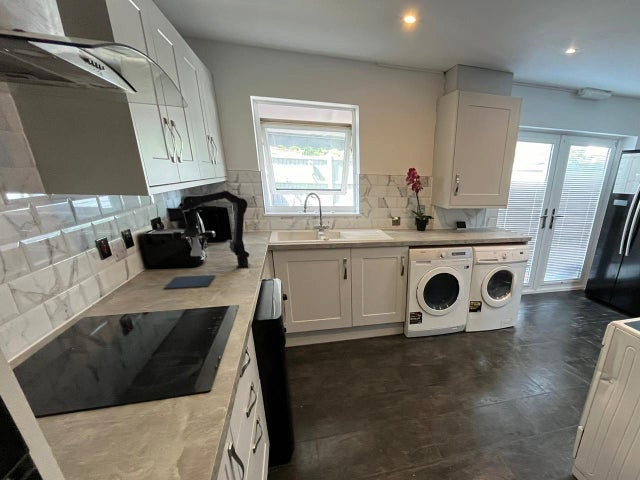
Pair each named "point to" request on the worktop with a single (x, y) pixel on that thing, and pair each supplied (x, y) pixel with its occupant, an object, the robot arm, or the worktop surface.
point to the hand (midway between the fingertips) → (197, 250)
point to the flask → (196, 248)
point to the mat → (190, 282)
